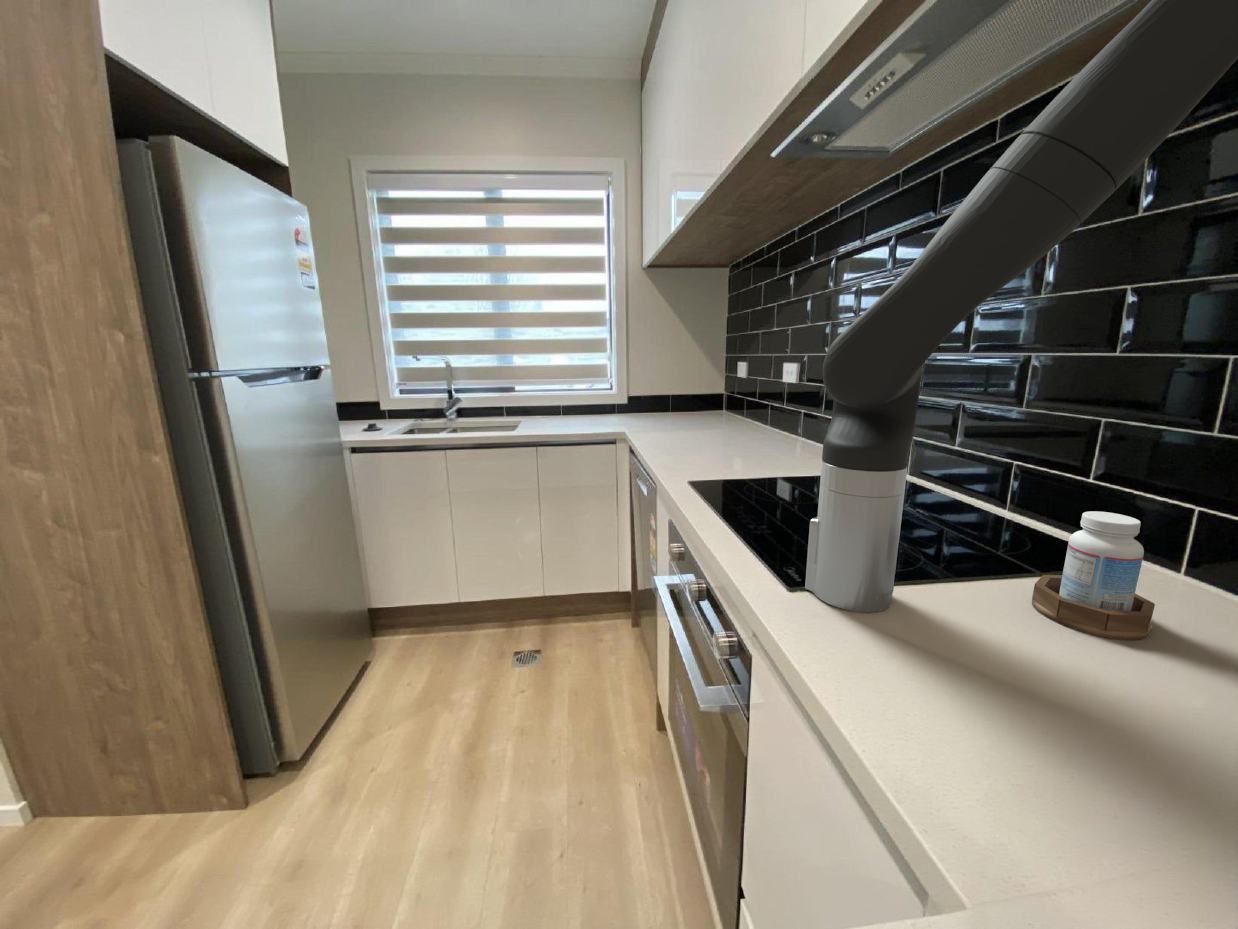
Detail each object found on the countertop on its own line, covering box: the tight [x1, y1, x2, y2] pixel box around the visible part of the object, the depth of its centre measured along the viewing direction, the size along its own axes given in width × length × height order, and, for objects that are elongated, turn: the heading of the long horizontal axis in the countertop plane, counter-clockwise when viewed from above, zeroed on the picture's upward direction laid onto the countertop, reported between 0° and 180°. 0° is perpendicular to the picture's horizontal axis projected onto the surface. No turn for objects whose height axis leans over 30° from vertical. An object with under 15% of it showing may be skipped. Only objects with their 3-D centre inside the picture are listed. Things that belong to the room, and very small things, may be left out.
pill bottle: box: [1059, 510, 1145, 611], centre depth 55 cm, size 6×6×11 cm
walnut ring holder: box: [1031, 574, 1156, 641], centre depth 57 cm, size 10×10×3 cm
